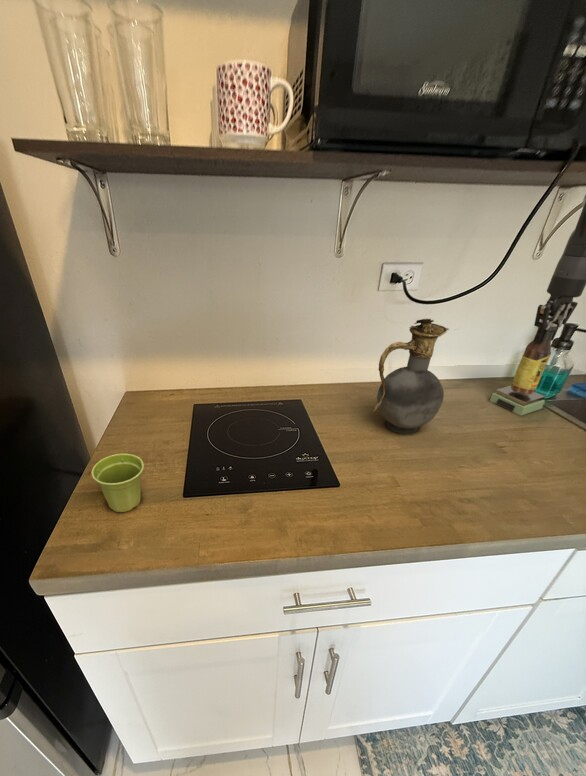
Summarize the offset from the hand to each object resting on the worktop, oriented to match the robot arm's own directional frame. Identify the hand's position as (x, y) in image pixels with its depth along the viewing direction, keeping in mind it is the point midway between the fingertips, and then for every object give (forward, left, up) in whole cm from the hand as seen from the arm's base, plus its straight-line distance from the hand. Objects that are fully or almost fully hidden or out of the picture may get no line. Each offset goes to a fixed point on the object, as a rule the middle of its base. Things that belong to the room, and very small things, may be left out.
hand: (543, 340), depth 107 cm
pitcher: (+43, -5, -21) cm, 48 cm away
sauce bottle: (0, 0, -15) cm, 15 cm away
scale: (0, 0, -20) cm, 20 cm away
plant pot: (+114, -7, -21) cm, 116 cm away
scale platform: (0, 0, -17) cm, 17 cm away
